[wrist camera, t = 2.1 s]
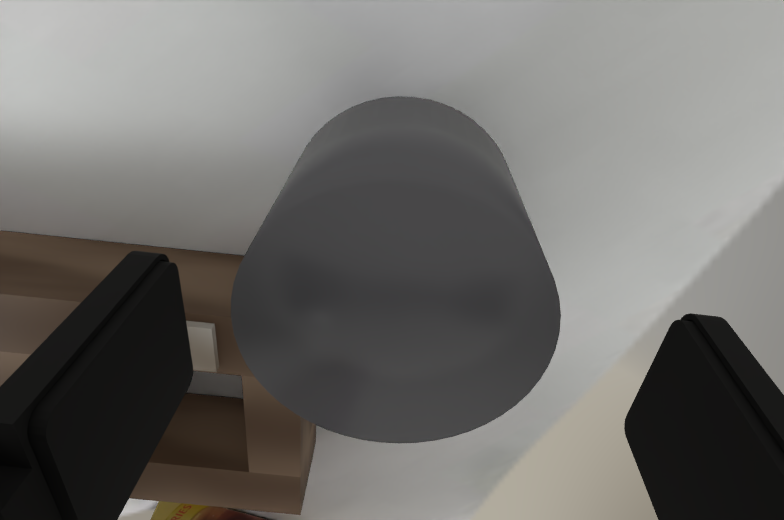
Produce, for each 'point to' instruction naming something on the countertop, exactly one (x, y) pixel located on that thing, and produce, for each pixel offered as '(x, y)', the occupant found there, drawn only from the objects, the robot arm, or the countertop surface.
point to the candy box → (197, 512)
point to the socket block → (209, 354)
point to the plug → (397, 279)
